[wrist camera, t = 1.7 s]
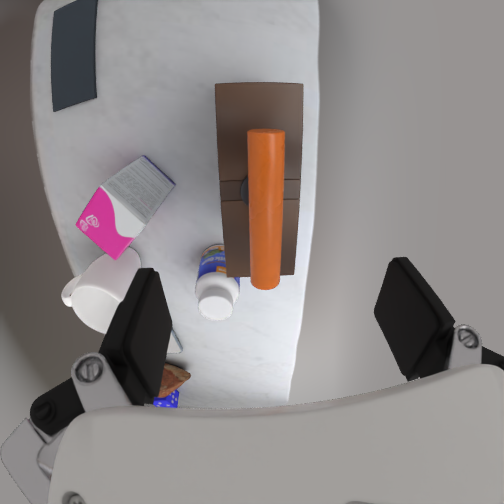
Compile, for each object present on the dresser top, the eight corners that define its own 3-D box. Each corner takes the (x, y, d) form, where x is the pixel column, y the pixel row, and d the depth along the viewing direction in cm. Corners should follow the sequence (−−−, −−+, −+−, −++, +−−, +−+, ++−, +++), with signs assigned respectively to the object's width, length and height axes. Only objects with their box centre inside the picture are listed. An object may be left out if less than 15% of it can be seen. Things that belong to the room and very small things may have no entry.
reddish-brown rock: (137, 389, 52) (139, 413, 43) (126, 358, 51) (126, 379, 42) (189, 379, 57) (199, 401, 47) (181, 348, 56) (190, 367, 47)
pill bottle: (238, 242, 37) (238, 289, 28) (240, 274, 39) (241, 324, 31) (198, 244, 36) (187, 291, 28) (203, 276, 39) (195, 325, 31)
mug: (145, 231, 35) (116, 284, 25) (159, 279, 39) (140, 337, 30) (77, 238, 35) (40, 285, 25) (94, 281, 39) (67, 331, 30)
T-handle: (238, 115, 25) (237, 133, 12) (268, 115, 25) (297, 133, 13) (241, 205, 30) (243, 291, 18) (268, 205, 30) (288, 289, 18)
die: (168, 382, 56) (166, 400, 52) (179, 392, 58) (177, 409, 54) (152, 384, 56) (148, 401, 52) (162, 393, 59) (160, 410, 55)
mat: (56, 11, 16) (54, 11, 15) (98, -8, 16) (96, -9, 16) (55, 111, 24) (53, 112, 24) (97, 97, 25) (94, 97, 24)
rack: (224, 89, 26) (214, 83, 15) (278, 89, 26) (303, 83, 16) (230, 217, 35) (226, 277, 24) (277, 215, 35) (294, 275, 24)
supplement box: (143, 153, 29) (100, 182, 20) (176, 184, 32) (150, 226, 22) (116, 185, 31) (73, 226, 21) (149, 214, 34) (117, 264, 24)
